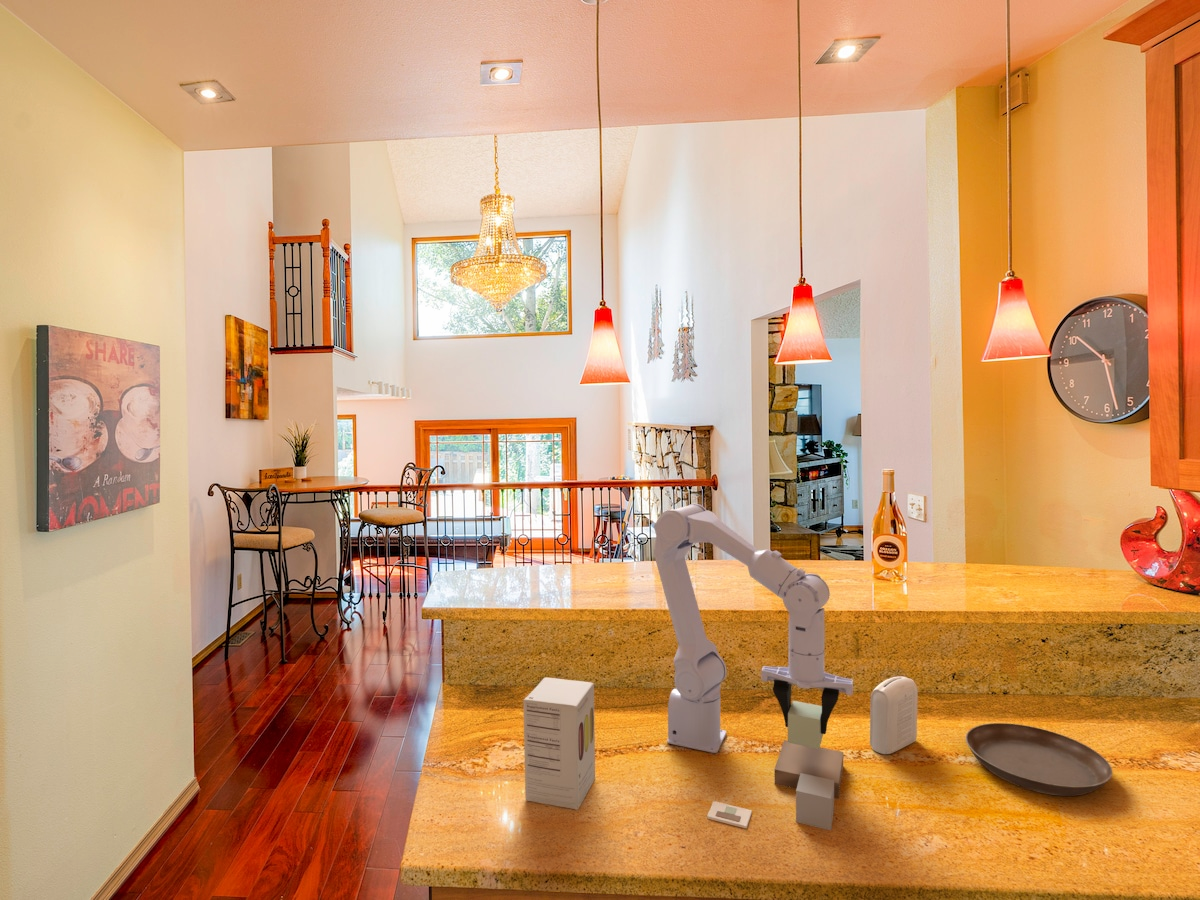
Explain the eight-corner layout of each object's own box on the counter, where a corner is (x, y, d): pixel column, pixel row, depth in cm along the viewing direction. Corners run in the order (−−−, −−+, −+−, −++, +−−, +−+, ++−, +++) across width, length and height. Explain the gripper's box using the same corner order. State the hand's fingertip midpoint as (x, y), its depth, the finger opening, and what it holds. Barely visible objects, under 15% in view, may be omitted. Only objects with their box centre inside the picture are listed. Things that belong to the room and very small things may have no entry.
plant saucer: (955, 730, 123) (955, 714, 123) (1084, 748, 116) (1084, 730, 116) (979, 792, 104) (979, 772, 103) (1135, 818, 97) (1136, 797, 97)
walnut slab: (774, 786, 106) (774, 769, 106) (783, 756, 116) (784, 740, 115) (838, 801, 102) (838, 783, 102) (843, 768, 111) (843, 751, 111)
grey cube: (795, 822, 97) (796, 790, 96) (800, 803, 101) (800, 773, 101) (830, 831, 95) (831, 798, 94) (833, 811, 99) (834, 780, 99)
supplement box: (578, 811, 100) (576, 707, 99) (523, 802, 103) (521, 699, 101) (596, 777, 109) (595, 681, 108) (546, 769, 112) (544, 675, 111)
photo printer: (898, 731, 123) (899, 668, 122) (920, 741, 119) (921, 676, 118) (865, 748, 117) (866, 682, 116) (887, 758, 113) (888, 690, 113)
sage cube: (787, 742, 107) (787, 713, 106) (792, 728, 111) (793, 700, 111) (819, 749, 104) (819, 719, 104) (823, 734, 109) (823, 706, 109)
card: (707, 818, 98) (707, 815, 98) (713, 803, 101) (713, 800, 101) (746, 828, 95) (746, 825, 95) (751, 812, 99) (751, 809, 99)
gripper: (757, 651, 106) (757, 730, 107) (851, 664, 100) (850, 748, 101) (765, 636, 113) (765, 711, 114) (854, 648, 107) (853, 727, 108)
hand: (805, 727), depth 108 cm, fingers closed on sage cube, 5 cm apart
